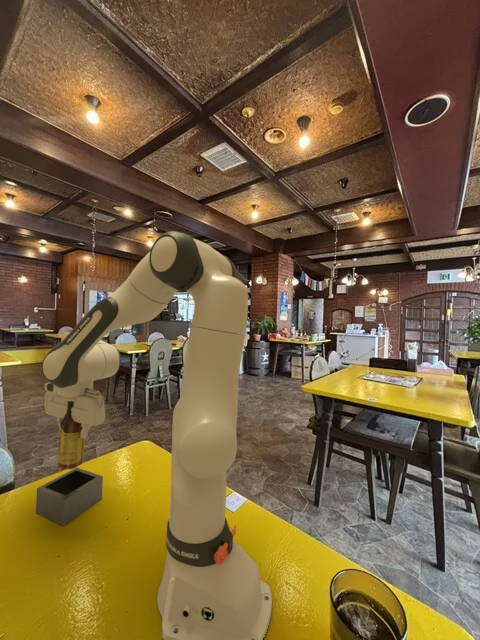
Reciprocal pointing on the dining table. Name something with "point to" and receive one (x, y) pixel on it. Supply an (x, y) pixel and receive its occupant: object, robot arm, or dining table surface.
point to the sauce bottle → (70, 442)
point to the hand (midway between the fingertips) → (73, 435)
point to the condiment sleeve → (69, 495)
